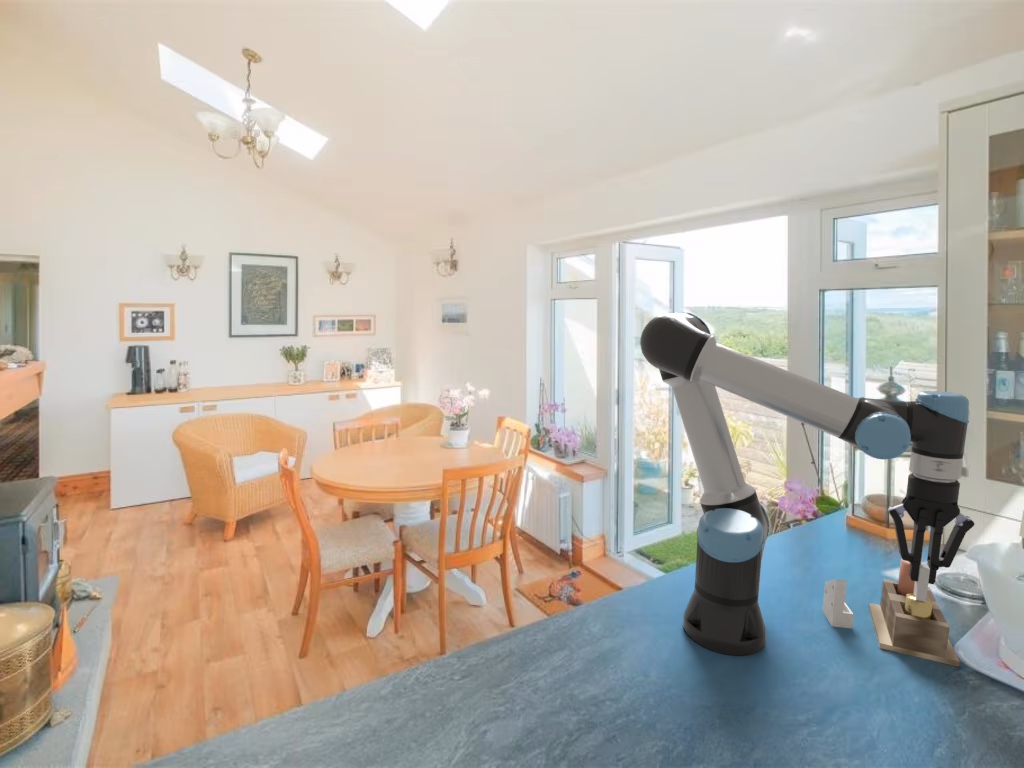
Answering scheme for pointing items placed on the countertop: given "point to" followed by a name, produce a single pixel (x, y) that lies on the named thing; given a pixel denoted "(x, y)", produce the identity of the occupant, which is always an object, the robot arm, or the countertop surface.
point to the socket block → (911, 627)
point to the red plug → (905, 579)
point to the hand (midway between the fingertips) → (919, 597)
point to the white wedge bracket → (836, 604)
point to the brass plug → (918, 607)
